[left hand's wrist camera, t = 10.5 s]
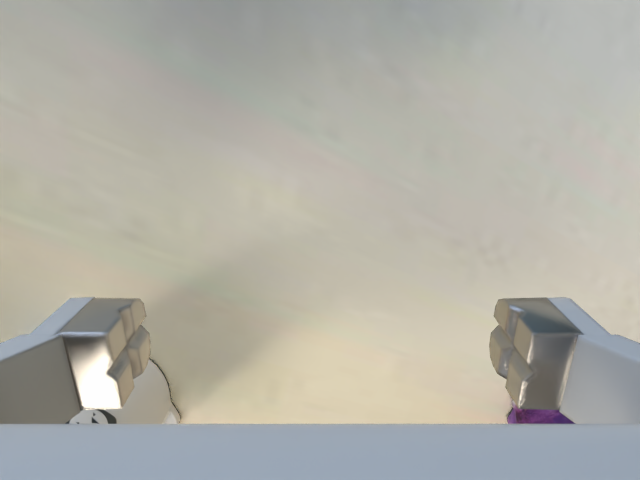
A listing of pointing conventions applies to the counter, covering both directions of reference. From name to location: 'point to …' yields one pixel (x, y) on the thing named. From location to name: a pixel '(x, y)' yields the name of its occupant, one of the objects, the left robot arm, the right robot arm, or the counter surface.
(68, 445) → the left robot arm
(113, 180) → the counter surface
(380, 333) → the counter surface
